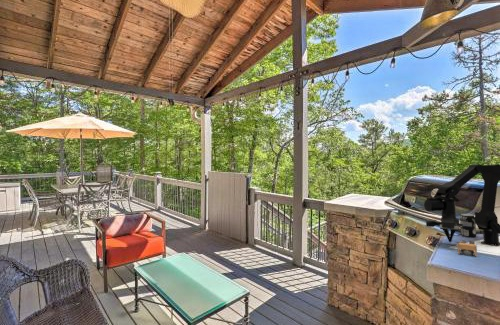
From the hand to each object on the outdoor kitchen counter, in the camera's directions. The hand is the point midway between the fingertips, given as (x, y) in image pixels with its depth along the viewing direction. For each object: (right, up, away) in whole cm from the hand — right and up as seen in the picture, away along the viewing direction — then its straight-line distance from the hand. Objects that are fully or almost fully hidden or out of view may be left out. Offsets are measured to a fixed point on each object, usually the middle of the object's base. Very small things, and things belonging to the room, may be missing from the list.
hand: (450, 242), depth 132 cm
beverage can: (+21, -1, +14) cm, 25 cm away
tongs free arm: (+3, -1, -5) cm, 6 cm away
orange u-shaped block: (-3, -1, -14) cm, 14 cm away
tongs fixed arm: (+3, -1, -8) cm, 9 cm away
